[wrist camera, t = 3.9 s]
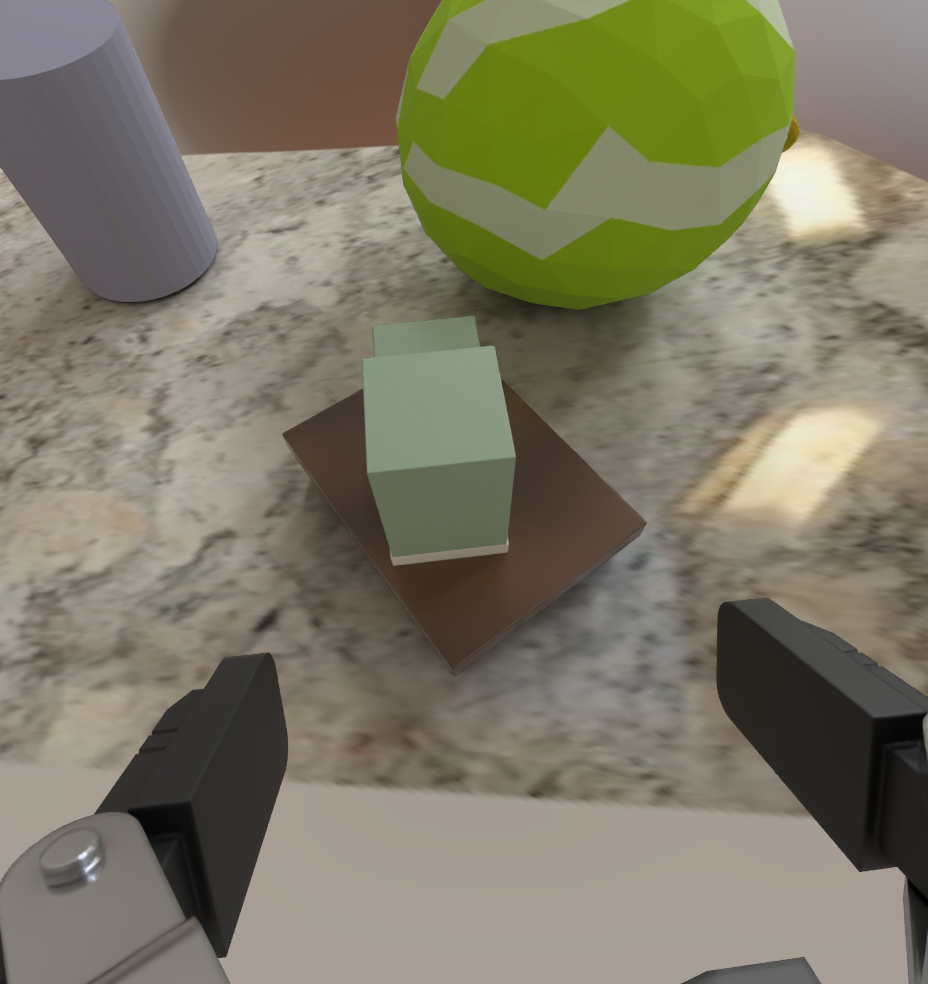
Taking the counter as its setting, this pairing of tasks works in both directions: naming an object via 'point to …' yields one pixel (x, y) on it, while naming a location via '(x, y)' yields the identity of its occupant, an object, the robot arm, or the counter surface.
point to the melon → (592, 138)
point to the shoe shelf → (488, 578)
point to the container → (96, 151)
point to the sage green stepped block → (438, 441)
